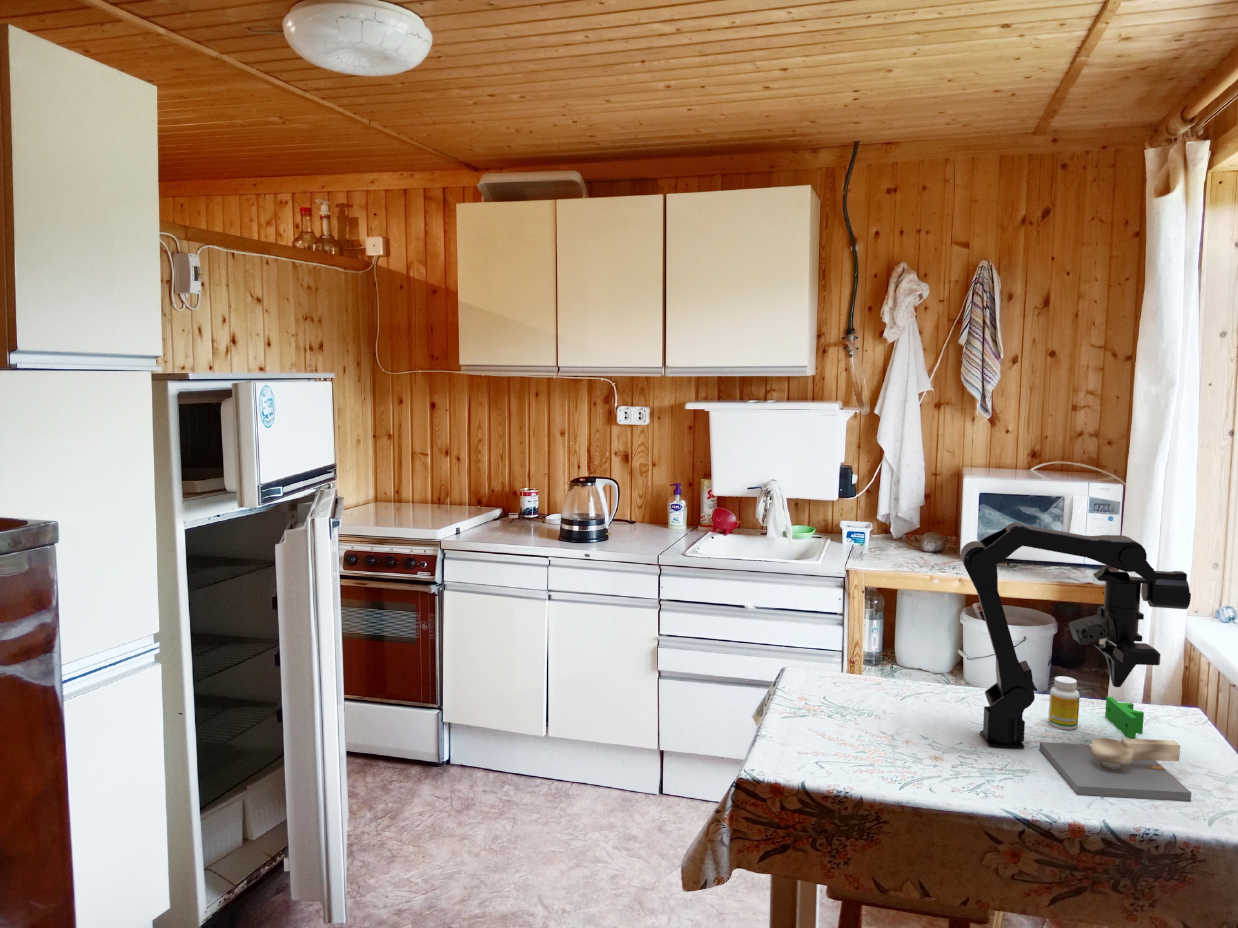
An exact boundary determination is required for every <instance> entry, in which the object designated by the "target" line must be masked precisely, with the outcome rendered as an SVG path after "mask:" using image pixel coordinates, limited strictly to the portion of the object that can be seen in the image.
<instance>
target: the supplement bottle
mask: <svg viewBox="0 0 1238 928" xmlns="http://www.w3.org/2000/svg"><path fill="white" fill-rule="evenodd" d="M1053 684H1054V686H1052V687H1051V689H1050V690H1049V703H1048V704H1049V705H1048V720H1047V721H1048V724H1050V725H1051V726H1052V727H1055V728H1057V729H1060V730H1066V731H1068V730H1075V729H1077V728H1078V725H1079V713H1080V712H1079V711H1080V710H1079V709H1080V696H1081V695H1080V692H1079V691H1078V690H1077V687H1078V681H1077V680H1076V679H1075V678H1073V677H1070V676H1061V675H1059V676H1055V677H1054V683H1053Z"/></svg>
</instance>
